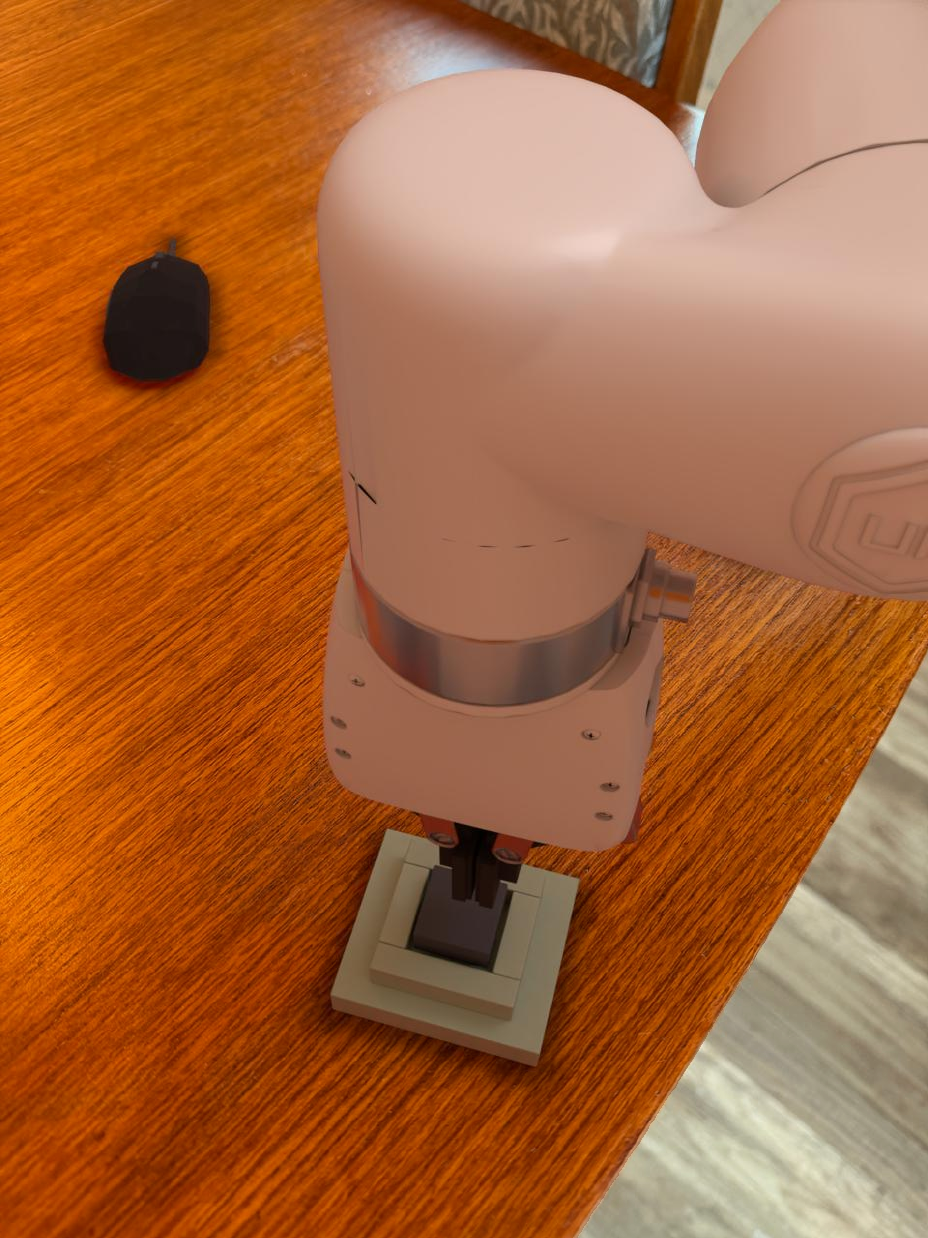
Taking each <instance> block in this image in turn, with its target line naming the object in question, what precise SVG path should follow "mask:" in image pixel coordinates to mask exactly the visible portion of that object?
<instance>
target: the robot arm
mask: <svg viewBox="0 0 928 1238" xmlns="http://www.w3.org/2000/svg"><path fill="white" fill-rule="evenodd" d="M695 148H696V149H695V157H694V164H693V162H692V160H691V158H690V156H689V155H688V153H687V152H686V150H685V149H684V147H683V146H682V144H681V143H680V141H679V139H678V138H677V137H676V135H675V134H674V132H673V131H672V130H671V129H670V128H669V127H667V125H666V124H665V123H664V122H663V121H662V120H661V119H660V118H659V117H657V116H656V115H655V114H654V113H652V112H650V111H649V110H647V109H646V108H644V107H643V106H641V105H640V104H639V103H637V102H636V101H634V100H632V99H631V98H629V97H627V96H626V95H624V94H621V93H620V92H618V91H615V90H613V89H612V88H609V87H607V86H605V85H602V84H599V83H596V82H593V81H590V80H587V79H584V78H580V77H576V76H573V75H568V74H563V73H560V72H559V73H558V72H553V71H547V70H546V71H545V70H538V69H529V68H528V69H527V68H525V69H524V68H493V69H492V68H491V69H489V68H488V69H476V70H470V71H462V72H457V73H451V74H448V75H444V76H441V77H440V76H439V77H437V78H433V79H428V80H426V81H423V82H421V83H417V84H415V85H413V86H411V87H408V88H407V89H404V90H402V91H399V92H398V93H396V94H394V95H393V96H391V97H389V98H388V99H386V100H384V101H382V102H381V103H379V104H378V105H376V106H375V107H374V108H372V109H370V110H369V111H368V112H366V113H365V114H363V116H362V117H360V118H359V120H357V122H356V123H355V124H354V125H353V126H351V128H350V129H349V130H348V132H347V133H346V134H345V135H344V137H343V139H342V140H341V142H340V143H339V145H338V146H337V147H336V149H335V150H334V152H333V154H331V155H332V156H331V157H330V159H329V162H328V165H327V168H326V171H325V173H324V175H323V176H324V177H323V180H322V183H321V185H320V189H319V191H318V198H317V199H318V200H317V205H316V216H315V219H316V239H317V258H318V259H317V260H318V270H319V279H320V290H321V300H322V307H323V317H324V327H325V336H326V345H327V353H328V354H327V355H328V363H329V372H330V380H331V381H330V383H331V391H332V400H333V409H334V419H335V428H336V435H337V436H336V437H337V445H338V455H339V463H340V472H341V473H340V474H341V480H342V481H341V482H342V490H343V497H344V499H343V500H344V508H345V517H346V525H347V531H348V547H347V550H346V552H345V555H344V558H343V562H342V566H341V570H340V574H339V577H338V579H337V583H336V587H335V590H334V595H333V599H332V604H331V609H330V615H329V622H328V627H327V637H326V643H325V653H324V663H323V664H324V665H323V681H322V682H323V683H322V727H323V728H322V730H323V741H324V749H325V753H326V757H327V762H328V765H329V767H330V769H331V771H332V773H333V775H334V777H335V778H336V780H337V781H338V783H339V785H341V786H342V787H343V788H344V789H346V790H348V791H350V792H351V793H353V794H355V795H357V796H360V797H363V798H365V799H368V800H371V801H374V802H376V803H381V804H384V805H388V806H391V807H395V808H398V809H403V810H407V811H410V812H411V813H413V814H415V815H416V816H417V817H419V820H420V822H421V825H422V828H423V831H424V834H425V837H426V839H428V840H429V841H430V842H432V843H434V844H436V845H438V846H439V864H440V865H443V866H447V867H451V868H452V899H453V900H457V901H461V902H465V901H466V899H468V900H471V899H472V896H473V892H474V889H475V901H476V902H479V906H481V907H485V908H489V909H493V906H494V903H495V899H496V895H497V891H498V888H499V884H500V880H502V881H506V882H510V883H514V884H517V881H518V878H519V874H520V871H521V867H522V864H524V863H525V861H526V859H527V857H528V854H529V852H530V850H531V849H536V848H541V847H546V846H554V847H558V848H563V849H567V850H574V851H581V852H596V853H597V852H604V851H608V850H610V849H613V848H614V847H617V846H618V845H620V844H621V845H631V844H635V843H636V842H637V839H638V835H639V830H640V824H641V820H642V815H643V810H644V805H643V801H642V796H641V791H642V786H643V781H644V774H645V768H646V763H647V759H648V758H649V756H650V753H651V749H652V745H653V744H652V743H653V739H654V733H655V728H656V723H657V716H658V710H659V704H660V698H661V697H660V696H661V689H662V682H663V675H664V674H663V673H664V661H665V659H664V658H665V634H664V631H665V629H664V619H665V620H668V621H671V622H672V621H673V622H678V623H683V624H687V625H688V623H689V619H690V616H691V615H690V614H691V611H692V608H693V603H694V598H695V594H696V588H697V583H698V580H699V579H698V577H699V573H696V572H691V571H687V570H681V569H677V568H672V567H671V562H669V561H666V560H665V561H664V560H661V559H656V558H657V552H658V549H657V548H653V547H647V544H648V539H649V534H650V533H651V534H655V535H657V536H660V537H663V538H667V539H669V540H673V541H675V542H679V543H682V544H684V545H687V546H690V547H694V548H696V549H700V550H703V551H705V552H709V553H711V554H714V555H717V556H721V557H724V558H727V559H730V560H733V561H734V562H735V561H736V562H739V563H741V564H743V565H748V566H750V567H754V568H756V569H758V570H759V569H760V570H763V571H767V572H770V573H772V574H776V575H779V576H783V577H786V578H788V579H792V580H795V581H799V582H802V583H805V584H808V585H813V586H816V587H821V588H824V589H829V590H833V591H837V592H840V593H847V594H852V595H856V596H862V597H870V598H878V599H885V600H893V601H905V602H906V601H907V602H928V0H780V2H778V3H777V4H776V6H774V8H772V10H771V11H769V13H767V15H766V16H765V17H764V18H763V20H762V21H761V22H760V23H758V25H757V27H756V28H755V29H754V31H753V32H752V33H751V35H750V36H749V37H748V39H747V40H746V42H745V43H744V44H743V45H742V47H741V48H740V49H739V51H738V52H737V53H736V55H735V56H734V57H733V59H732V60H731V62H730V63H729V65H728V66H727V67H726V69H725V71H724V73H723V75H722V77H721V79H720V81H719V83H718V85H717V86H716V89H715V91H714V93H713V94H712V97H711V99H710V100H709V103H708V105H707V107H706V110H705V113H704V115H703V119H702V123H701V127H700V131H699V134H698V138H697V143H696V147H695Z"/></svg>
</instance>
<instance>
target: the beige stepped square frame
mask: <svg viewBox="0 0 928 1238" xmlns="http://www.w3.org/2000/svg"><path fill="white" fill-rule="evenodd" d="M434 865H438V866H442V867H446V868H449V869H452V868H451V867H447V866H443V865H440V864H439V846H438V845H436V844H434V843H432V842H430V841H429V840H428V839H427V837H426V838H425V837H422V836H418V835H414V834H410V833H406V832H402V831H399V830H395V829H391V828H386V830H385V833H384V835H383V839H382V841H381V844H380V848H379V851H378V853H377V856H376V860H375V862H374V865H373V868H372V871H371V873H370V877H369V880H368V882H367V886H366V888H365V891H364V894H363V898H362V900H361V903H360V906H359V908H358V912H357V915H356V917H355V921H354V923H353V926H352V929H351V932H350V935H349V937H348V941H347V944H346V947H345V950H344V953H343V956H342V959H341V961H340V965H339V968H338V970H337V973H336V976H335V979H334V982H333V985H332V987H331V991H330V1003H331V1007H332V1008H331V1009H332V1010H334V1011H338V1012H342V1013H345V1014H349V1015H352V1016H355V1017H359V1018H362V1019H365V1020H369V1021H373V1022H376V1023H379V1024H383V1025H387V1026H390V1027H393V1028H398V1029H401V1030H404V1031H408V1032H410V1033H411V1032H412V1033H415V1034H419V1035H422V1036H425V1037H429V1038H431V1039H436V1040H440V1041H443V1042H447V1043H450V1044H454V1045H457V1046H460V1047H461V1046H462V1047H465V1048H468V1049H471V1050H474V1051H478V1052H481V1053H485V1054H489V1055H492V1056H496V1057H499V1058H501V1059H502V1058H503V1059H507V1060H509V1061H513V1062H517V1063H520V1064H524V1065H528V1066H531V1067H535V1068H536V1067H537V1066H538V1062H539V1060H540V1055H541V1052H542V1048H543V1047H542V1046H543V1042H544V1039H545V1033H546V1030H547V1025H548V1021H549V1017H550V1013H551V1009H552V1004H553V998H554V994H555V990H556V985H557V981H558V977H559V973H560V968H561V963H562V960H563V955H564V951H565V946H566V941H567V937H568V933H569V929H570V925H571V920H572V915H573V912H574V906H575V902H576V898H577V894H578V889H579V884H580V881H581V880H580V878H578V877H573V876H571V875H566V874H562V873H559V872H555V871H551V870H547V869H543V868H540V867H535V866H533V865H528V864H524V863H522V867H521V871H520V874H519V878H518V881H517V884H514V883H510V882H506V881H502V880H500V882H502V883H506V884H508V887H507V893H506V900H505V904H504V907H503V911H502V915H501V919H500V922H499V926H498V930H497V934H496V937H495V941H494V945H493V949H492V953H491V956H490V960H489V964H488V967H487V968H484V967H480V966H477V965H473V964H470V963H466V962H462V961H459V960H455V959H451V958H448V957H444V956H441V955H437V954H433V953H430V952H426V951H422V950H419V949H415V948H413V933H414V930H415V926H416V923H417V920H418V917H419V913H420V910H421V907H422V904H423V901H424V897H425V894H426V891H427V888H428V884H429V881H430V878H431V875H432V871H433V868H434Z"/></svg>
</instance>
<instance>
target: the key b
mask: <svg viewBox="0 0 928 1238" xmlns="http://www.w3.org/2000/svg"><path fill="white" fill-rule="evenodd" d="M507 887H508V884H506V883H502V882H500V884H499V888H498V891H497V895H496V899H495V903H494V906H493V909H489V908H485V907H481V906H479V902H476V901H475V889H474V892H473V896H472V899H471V900H468V899H466V901H465V902H461V901H457V900H453V899H452V869H449V868H446V867H442V866H438V865H434V868H433V871H432V875H431V878H430V881H429V884H428V888H427V891H426V894H425V897H424V901H423V904H422V907H421V910H420V913H419V917H418V920H417V923H416V926H415V930H414V933H413V948H415V949H419V950H422V951H426V952H430V953H433V954H437V955H441V956H444V957H448V958H451V959H455V960H459V961H462V962H466V963H470V964H473V965H477V966H480V967H484V968H487V967H488V964H489V960H490V956H491V953H492V949H493V945H494V941H495V937H496V934H497V930H498V926H499V922H500V919H501V915H502V911H503V907H504V904H505V900H506V893H507Z"/></svg>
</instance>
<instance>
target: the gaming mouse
mask: <svg viewBox="0 0 928 1238" xmlns="http://www.w3.org/2000/svg"><path fill="white" fill-rule="evenodd" d="M176 246H177V239H176V238H174V237H173V238H171V239H170V242H169V248H168V250H167V251H166V252H165V251H164V250H163V251H162V250H161V251H155V252H154V255H153V256H150V257H148V258H146V259H143V260H140V261H138V262H135V263H133V264H131V265H128V266H127V267H126V268H125V270H123V272H122V273H121V274H120V275H119V277H118V279H117V281H116V282H115V284H114V285H113V289H111V291H110V294H109V298H108V301H107V305H106V309H105V314H104V317H105V321H104V322H105V323H104V329H103V335H102V336H103V337H102V344H103V347H104V351H105V354H106V357H107V361H108V364H109V368H111V370H112V371H113V372H114V373H115V372H116V373H118V374H120V375H122V376H123V377H127V378H129V379H130V380H133V381H136V382H138V383H167V382H170V381H172V380H174V379H175V378H178V377H180V376H183V375H185V374H187V373H190V372H193V371H194V370H196V369H197V368H199V367H201V366H202V363H203V362H204V360H205V358H206V356H207V354H208V352H209V349H210V338H211V337H210V336H211V332H210V330H211V329H210V316H211V315H210V314H211V313H210V312H211V291H210V290H211V289H210V288H211V287H210V283H209V280H208V276H207V275H206V274H205V272H204V270H203V269H202V268H201V266H200V264H198V263H195V262H193V261H190V260H188V259H185V258H183V257H178V256H177V254H176V252H175V251H176Z"/></svg>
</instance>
